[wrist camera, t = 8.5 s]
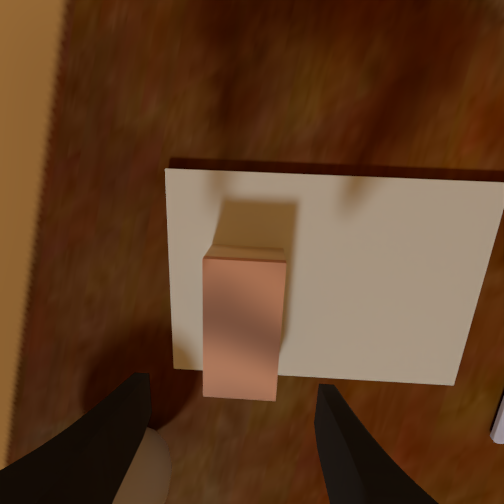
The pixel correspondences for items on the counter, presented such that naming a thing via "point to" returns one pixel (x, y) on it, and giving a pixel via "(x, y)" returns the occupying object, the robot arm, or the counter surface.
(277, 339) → the pink and beige box
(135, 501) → the donut
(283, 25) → the counter surface
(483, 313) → the counter surface
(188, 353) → the mat
